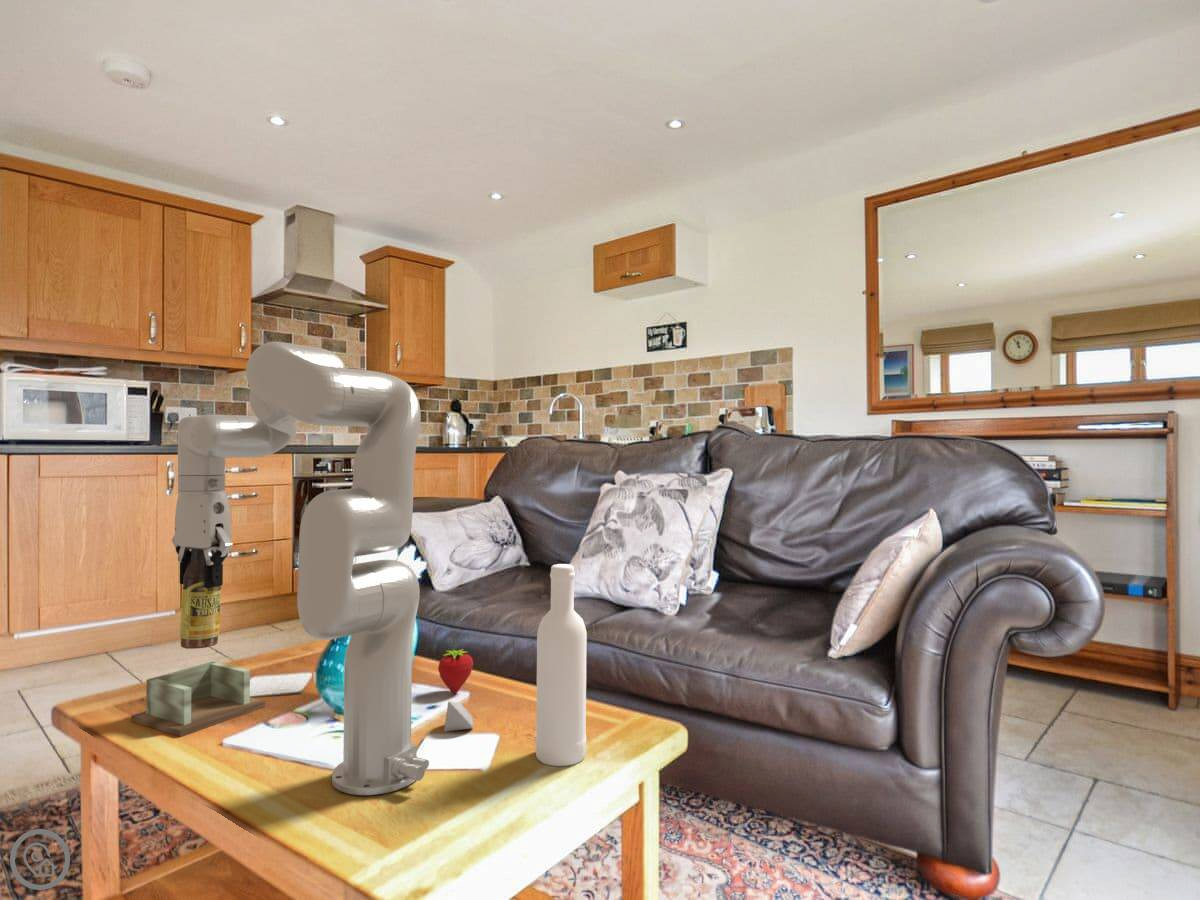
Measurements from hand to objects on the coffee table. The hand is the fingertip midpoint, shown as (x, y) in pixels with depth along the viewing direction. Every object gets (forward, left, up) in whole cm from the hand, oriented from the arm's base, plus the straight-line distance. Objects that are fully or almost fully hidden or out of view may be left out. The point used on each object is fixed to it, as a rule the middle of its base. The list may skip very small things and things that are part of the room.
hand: (201, 584), depth 130 cm
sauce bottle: (0, 0, -11) cm, 11 cm away
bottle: (-66, -16, -24) cm, 72 cm away
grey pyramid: (-45, -17, -24) cm, 54 cm away
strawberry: (-33, -31, -24) cm, 51 cm away
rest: (0, 0, -23) cm, 23 cm away
